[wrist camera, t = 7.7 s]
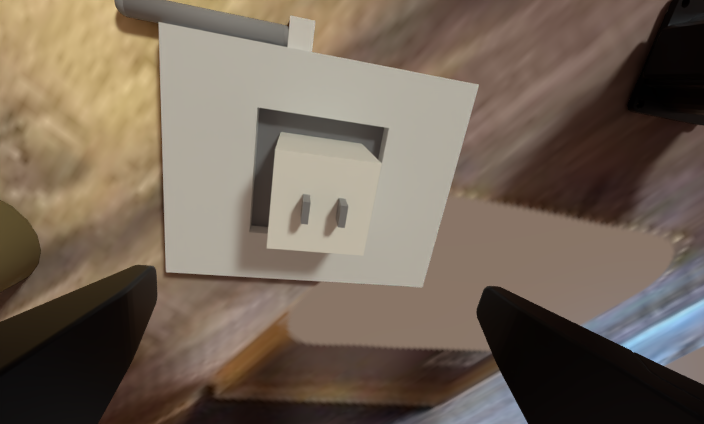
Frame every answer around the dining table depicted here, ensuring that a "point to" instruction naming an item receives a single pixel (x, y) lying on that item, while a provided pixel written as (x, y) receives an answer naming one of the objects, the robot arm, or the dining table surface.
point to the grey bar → (222, 22)
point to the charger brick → (321, 195)
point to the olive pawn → (16, 247)
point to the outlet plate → (304, 119)
